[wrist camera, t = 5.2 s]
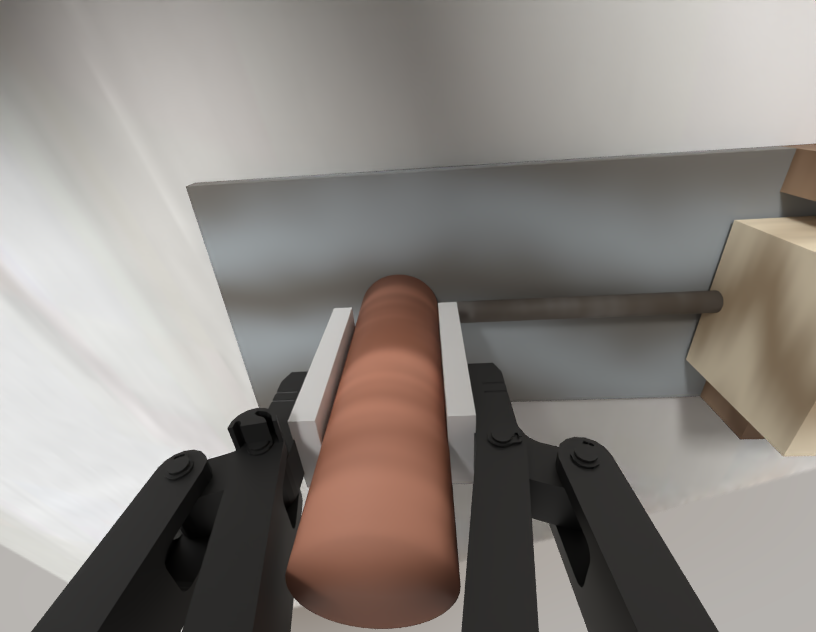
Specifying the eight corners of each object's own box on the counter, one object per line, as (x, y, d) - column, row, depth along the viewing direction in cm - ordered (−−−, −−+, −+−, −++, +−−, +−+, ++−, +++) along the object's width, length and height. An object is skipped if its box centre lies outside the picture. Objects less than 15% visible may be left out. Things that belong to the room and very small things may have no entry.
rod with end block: (352, 240, 17) (241, 474, 6) (917, 210, 16) (1921, 442, 5) (370, 370, 20) (316, 660, 10) (835, 354, 19) (1339, 669, 9)
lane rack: (195, 182, 17) (117, 213, 13) (1129, 123, 15) (1424, 135, 10) (264, 399, 23) (227, 470, 18) (937, 378, 21) (1074, 453, 16)
